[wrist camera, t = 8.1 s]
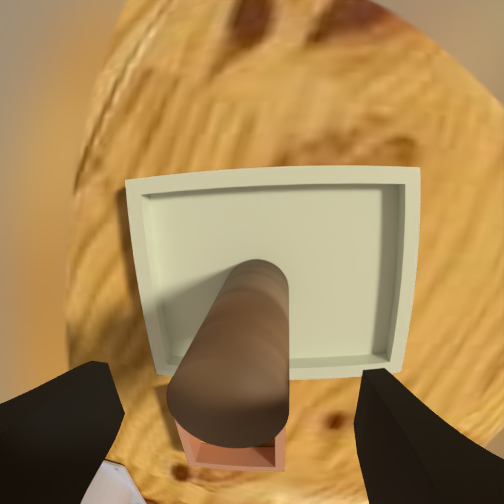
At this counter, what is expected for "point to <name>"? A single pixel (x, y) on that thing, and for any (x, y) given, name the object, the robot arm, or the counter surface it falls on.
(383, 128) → the counter surface
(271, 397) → the dowel
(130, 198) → the tray
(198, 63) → the counter surface
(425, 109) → the counter surface
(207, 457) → the holder
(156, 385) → the counter surface
